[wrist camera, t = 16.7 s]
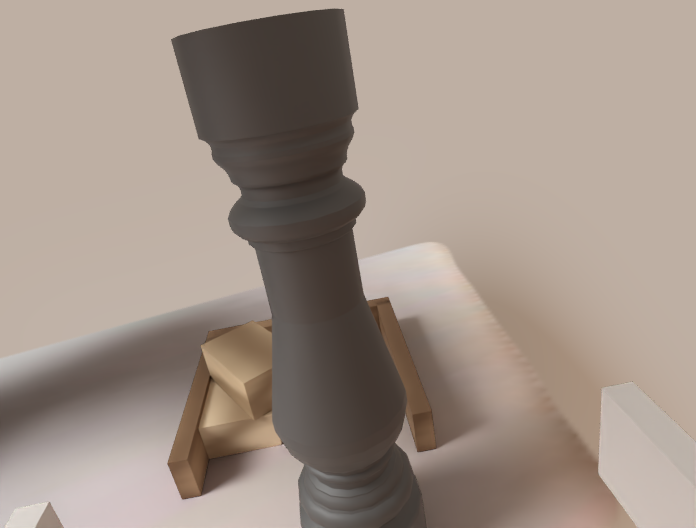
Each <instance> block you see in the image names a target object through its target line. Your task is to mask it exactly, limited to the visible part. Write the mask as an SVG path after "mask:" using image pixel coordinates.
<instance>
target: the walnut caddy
mask: <svg viewBox="0 0 696 528" xmlns="http://www.w3.org/2000/svg"><path fill="white" fill-rule="evenodd" d="M367 303H368V305H369V307H370V309H371V312H372V314H373V316H374V319H375V321H376V323H377V325H378V328H379V330H380V332H381V335H382V337H383V339H384V341H385V344H386V346H387V348H388V350H389V352H390V355H391V357H392V359H393V361H394V364H395V366H396V368H397V370H398V373H399V375H400V377H401V380H402V382H403V385H404V387H405V390H406V395H407V406H406V412H405V413H406V416H407V419H408V422H409V426H410V429H411V432H412V435H413V439H414V442H415V445H416V448H417V452H421V451H426V450H431V449H436V442H435V434H434V426H433V418H432V410H431V408H430V405H429V403H428V400H427V397H426V395H425V392H424V389H423V387H422V384H421V382H420V379H419V376H418V374H417V371H416V369H415V366H414V363H413V361H412V358H411V355H410V353H409V350H408V348H407V345H406V342H405V340H404V337H403V335H402V332H401V329H400V327H399V324H398V321H397V319H396V316H395V314H394V311H393V308H392V306H391V303H390V300H389V298H388V297H385V298H379V299H374V300H369V301H367ZM256 323H257V324H259V325H260V326H262V327H263V328H265V329H266V330H268V331H269V332H271V333H272V319H270V320H265V321H260V322H256ZM240 326H242V325H239V326H234V327H229V328H223V329H218V330H213V331H209V332H208V335H207V339H206V342H205V343H207V342H209V341H211V340H213V339H215V338H217V337H219V336H221V335H223V334H225V333H228V332H230V331H232V330H234V329H236V328H238V327H240ZM210 382H211V376H210V373H209V370H208V367H207V364H206V361H205V358H204V355H203V351H202V355H201V358H200V361H199V364H198V367H197V370H196V374H195V377H194V380H193V383H192V386H191V390H190V393H189V396H188V399H187V402H186V406H185V409H184V412H183V415H182V418H181V422H180V425H179V428H178V431H177V434H176V438H175V441H174V444H173V447H172V450H171V453H170V457H169V460H168V463H167V464H168V466H169V468H170V471H171V473H172V476H173V478H174V481H175V483H176V486H177V488H178V491H179V493H180V495H181V498H182V499H186V498H191V497H196V496H201V494H202V489H203V484H204V480H205V475H206V470H207V466H208V461H209V457H208V454H207V451H206V449H205V446H204V443H203V440H202V438H201V435H200V432H199V429H198V428H199V424H200V420H201V417H202V413H203V409H204V405H205V401H206V397H207V394H208V390H209V386H210Z"/></svg>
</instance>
